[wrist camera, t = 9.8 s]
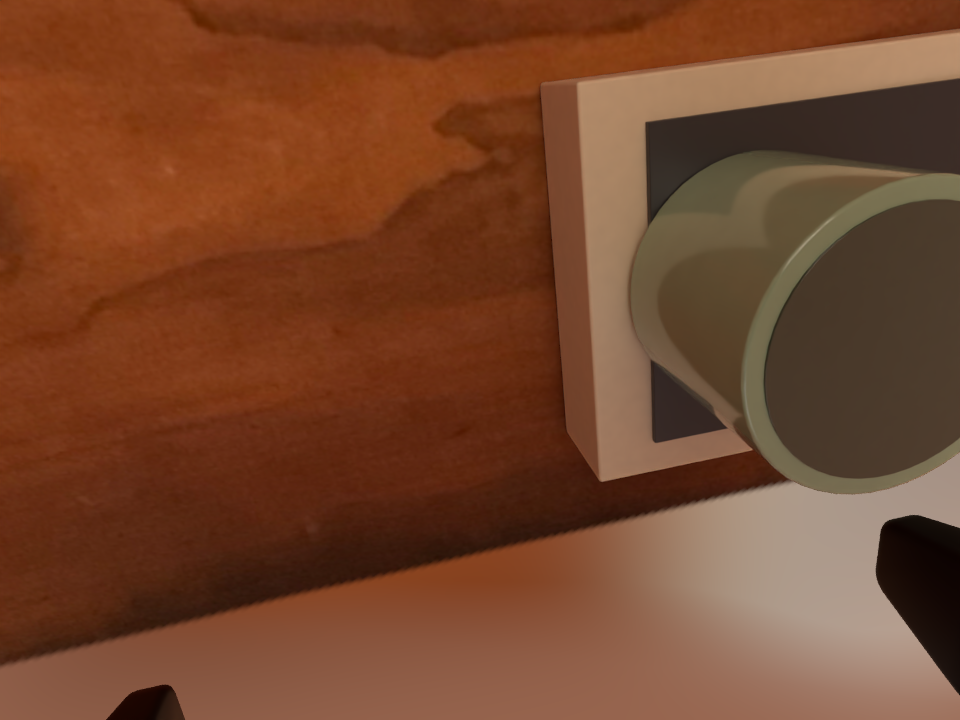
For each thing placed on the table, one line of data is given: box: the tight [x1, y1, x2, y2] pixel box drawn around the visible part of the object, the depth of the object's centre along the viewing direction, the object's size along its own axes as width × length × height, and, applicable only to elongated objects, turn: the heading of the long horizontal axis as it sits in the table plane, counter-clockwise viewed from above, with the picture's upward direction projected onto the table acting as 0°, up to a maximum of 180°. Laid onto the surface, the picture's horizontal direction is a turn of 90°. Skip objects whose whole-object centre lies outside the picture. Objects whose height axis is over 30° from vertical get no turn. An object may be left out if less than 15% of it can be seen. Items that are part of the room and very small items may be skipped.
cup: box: [630, 150, 960, 494], centre depth 14 cm, size 6×6×5 cm
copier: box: [540, 29, 960, 482], centre depth 19 cm, size 20×10×4 cm, turn 97°
